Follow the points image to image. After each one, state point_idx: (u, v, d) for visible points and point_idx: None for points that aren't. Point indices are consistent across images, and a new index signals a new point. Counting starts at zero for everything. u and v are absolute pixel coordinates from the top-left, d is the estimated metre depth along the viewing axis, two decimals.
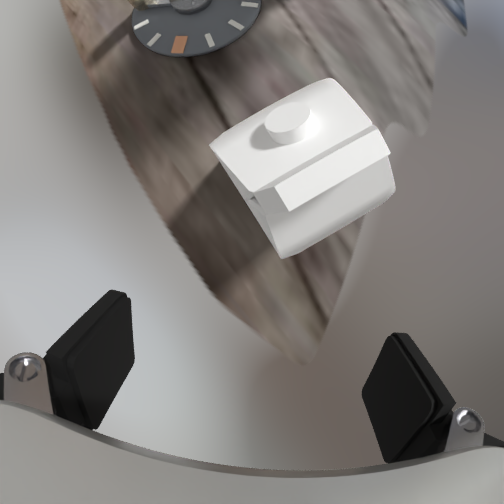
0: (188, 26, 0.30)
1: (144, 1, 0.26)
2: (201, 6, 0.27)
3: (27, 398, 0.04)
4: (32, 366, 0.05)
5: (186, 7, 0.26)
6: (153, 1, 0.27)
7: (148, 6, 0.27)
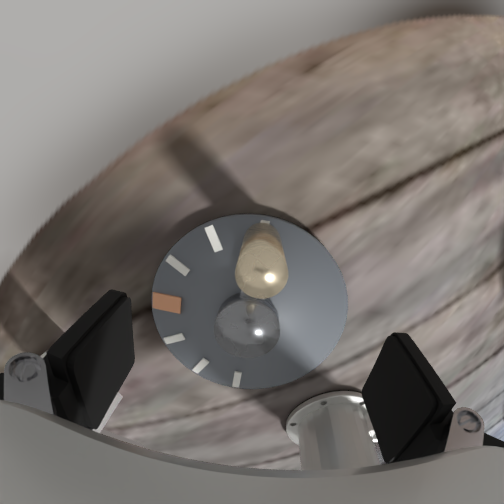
0: (199, 313, 0.28)
1: None
2: None
3: (27, 398, 0.04)
4: (32, 366, 0.05)
5: (215, 330, 0.25)
6: None
7: None
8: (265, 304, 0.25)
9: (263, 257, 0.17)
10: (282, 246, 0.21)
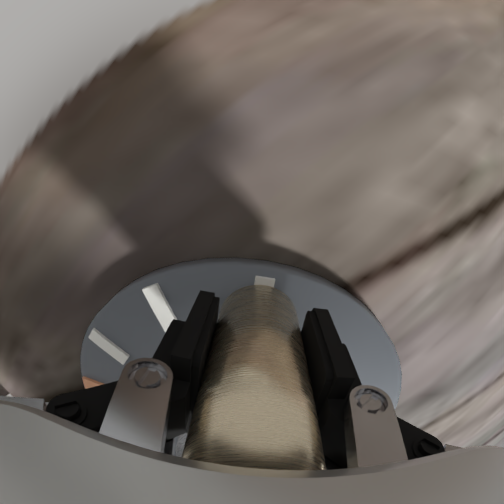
0: None
1: None
2: None
3: (139, 406, 0.05)
4: (157, 374, 0.06)
5: (178, 453, 0.12)
6: None
7: None
8: None
9: None
10: None
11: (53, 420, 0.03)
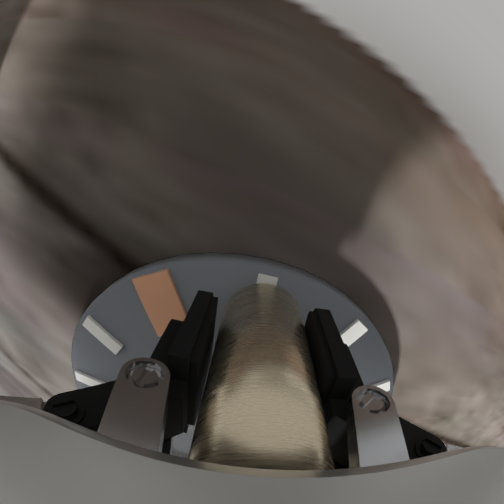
0: None
1: None
2: None
3: (137, 405, 0.05)
4: (154, 374, 0.06)
5: None
6: None
7: None
8: None
9: None
10: (313, 366, 0.08)
11: (53, 420, 0.03)
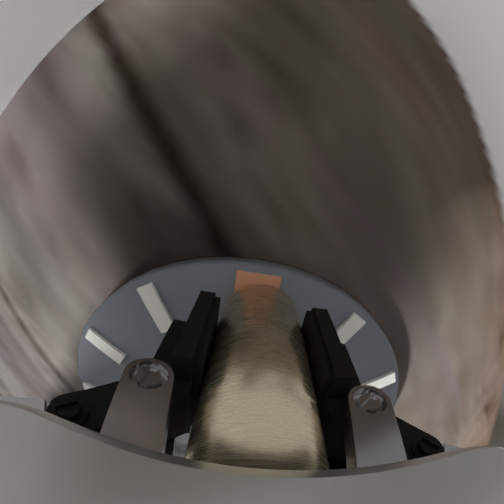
0: None
1: None
2: None
3: (140, 406, 0.05)
4: (158, 375, 0.06)
5: (175, 452, 0.12)
6: None
7: None
8: None
9: None
10: None
11: (53, 420, 0.03)
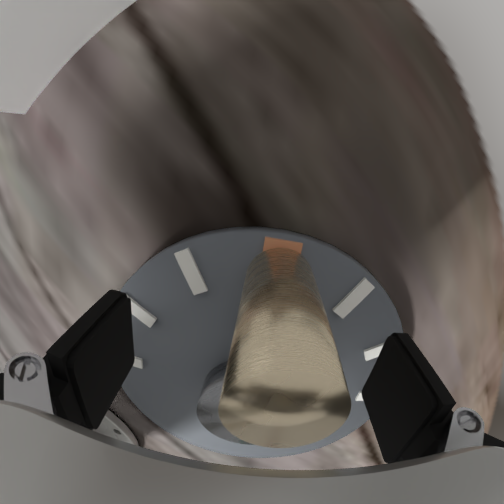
0: None
1: None
2: None
3: (27, 398, 0.04)
4: (32, 366, 0.05)
5: (199, 412, 0.14)
6: None
7: None
8: None
9: (293, 387, 0.06)
10: (324, 308, 0.10)
11: (53, 420, 0.03)
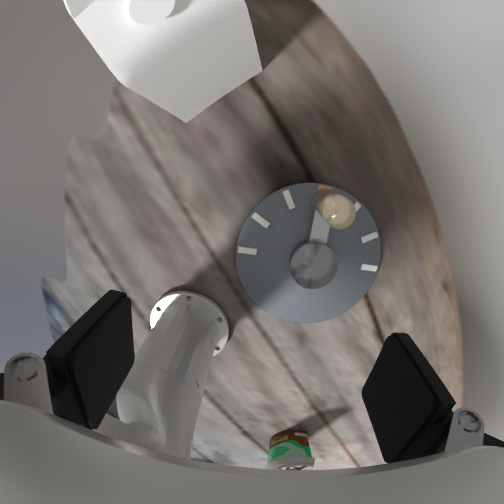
0: None
1: None
2: None
3: (27, 398, 0.04)
4: (32, 366, 0.05)
5: (291, 266, 0.35)
6: (320, 217, 0.34)
7: (314, 209, 0.34)
8: (327, 245, 0.34)
9: (341, 202, 0.26)
10: None
11: (53, 420, 0.03)
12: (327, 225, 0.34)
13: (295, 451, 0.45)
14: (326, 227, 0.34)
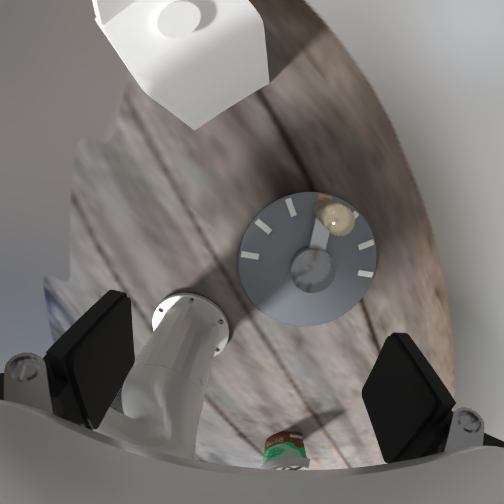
0: None
1: (318, 219, 0.34)
2: None
3: (27, 398, 0.04)
4: (32, 366, 0.05)
5: (292, 270, 0.36)
6: (320, 225, 0.36)
7: (315, 217, 0.36)
8: (326, 252, 0.36)
9: (342, 211, 0.28)
10: None
11: (53, 420, 0.03)
12: (326, 232, 0.36)
13: (291, 453, 0.46)
14: (325, 235, 0.36)
